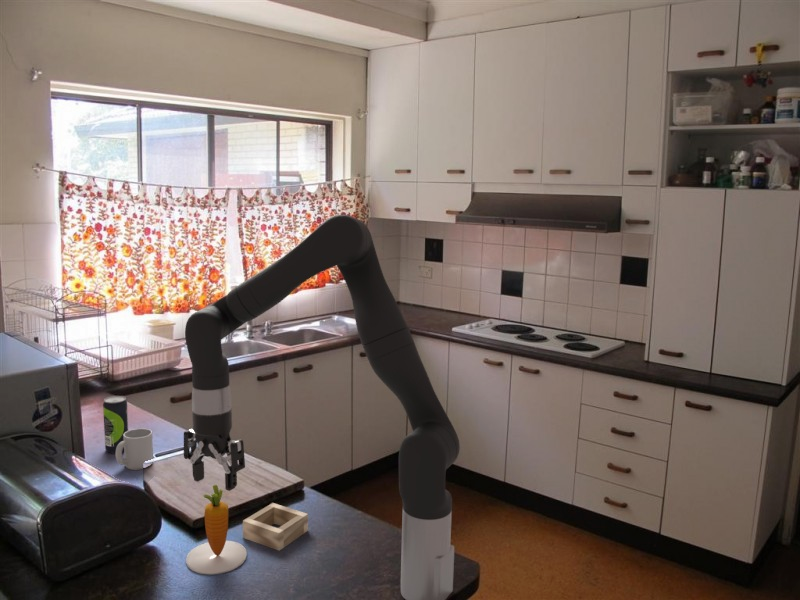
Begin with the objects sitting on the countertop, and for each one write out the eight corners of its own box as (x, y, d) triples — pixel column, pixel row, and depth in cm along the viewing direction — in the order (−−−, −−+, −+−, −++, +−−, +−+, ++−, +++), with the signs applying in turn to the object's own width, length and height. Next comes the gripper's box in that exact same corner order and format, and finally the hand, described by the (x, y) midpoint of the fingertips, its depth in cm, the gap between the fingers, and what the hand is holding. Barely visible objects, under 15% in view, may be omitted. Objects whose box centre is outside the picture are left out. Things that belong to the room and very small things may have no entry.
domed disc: (258, 553, 146) (258, 550, 146) (217, 581, 136) (217, 578, 136) (216, 537, 152) (216, 535, 152) (173, 563, 142) (173, 560, 142)
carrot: (223, 563, 141) (222, 494, 138) (200, 560, 142) (198, 491, 139) (234, 550, 146) (232, 483, 143) (211, 547, 147) (209, 481, 144)
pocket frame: (307, 530, 156) (307, 513, 155) (279, 550, 148) (279, 533, 147) (272, 519, 161) (272, 502, 160) (243, 537, 152) (242, 520, 152)
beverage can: (129, 452, 197) (127, 401, 194) (105, 455, 194) (102, 403, 192) (128, 444, 202) (126, 394, 200) (105, 447, 200) (102, 396, 197)
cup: (158, 464, 189) (157, 433, 188) (123, 475, 182) (121, 443, 180) (144, 457, 194) (143, 426, 192) (109, 467, 186) (108, 436, 185)
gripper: (252, 408, 138) (254, 485, 141) (199, 396, 145) (202, 470, 148) (225, 419, 132) (228, 499, 134) (171, 406, 139) (175, 483, 141)
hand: (214, 484), depth 141 cm, fingers open, 8 cm apart
